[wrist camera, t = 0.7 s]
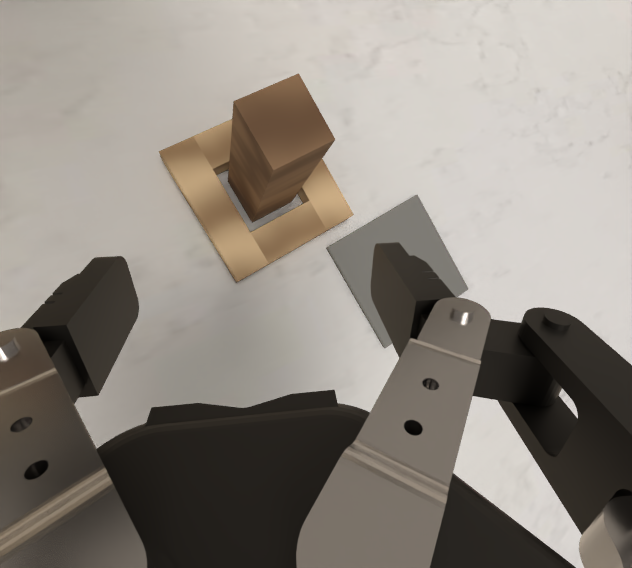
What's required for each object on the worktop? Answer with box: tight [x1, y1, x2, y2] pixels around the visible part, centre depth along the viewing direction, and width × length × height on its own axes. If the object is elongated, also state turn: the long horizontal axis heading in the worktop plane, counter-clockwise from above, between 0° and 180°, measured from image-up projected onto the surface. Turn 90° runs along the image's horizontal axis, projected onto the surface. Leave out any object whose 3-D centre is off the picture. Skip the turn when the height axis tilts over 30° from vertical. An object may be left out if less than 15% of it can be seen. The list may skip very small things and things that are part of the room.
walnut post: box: [228, 74, 335, 223], centre depth 28 cm, size 4×4×14 cm
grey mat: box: [327, 195, 468, 348], centre depth 38 cm, size 12×12×1 cm
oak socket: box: [159, 119, 354, 283], centre depth 34 cm, size 13×13×2 cm
